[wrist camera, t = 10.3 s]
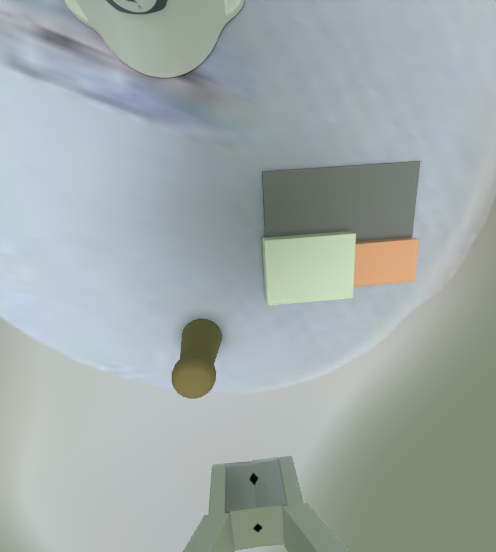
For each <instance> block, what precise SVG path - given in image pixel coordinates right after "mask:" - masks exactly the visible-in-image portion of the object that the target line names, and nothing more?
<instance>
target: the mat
mask: <svg viewBox="0 0 496 552" xmlns="http://www.w3.org/2000/svg"><path fill="white" fill-rule="evenodd" d="M419 168H420V161H415V162H400V163H385V164H370V165H355V166H340V167H325V168H310V169H295V170H280V171H265V172H262V179H263V199H264V219H265V237H266V238H267V237H279V236H292V235H305V234H318V233H331V232H343V231H349V232H352V233H356V241H368V240H380V239H392V238H403V237H412V233H413V223H414V214H415V205H416V195H417V186H418V177H419Z"/></svg>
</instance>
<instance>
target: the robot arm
mask: <svg viewBox="0 0 496 552" xmlns="http://www.w3.org/2000/svg"><path fill="white" fill-rule="evenodd" d="M65 3H66V5H67V6H68V8H69V9H70V11H71V12H72V14H73V15H74V16H75V17H76V18H78V19H79V20H80V21H82V22H83V23H85V24H86V25H88V26H89V27H91V28H93V29H94V30H95V31H96V32H97V33H98V34H99V35H100V36H101V37H102V39H103V40H104V41H105V43H106V44H107V45H108V47H109V48H110V49H111V50H112V52H113V53H114V54H115V55H116V56H117V57H118V58H119V59H120V60H122V61H123V62H124V63H125V64H127V65H128V66H130V67H131V68H133V69H134V70H136V71H138V72H140V73H143V74H146V75H149V76H153V77H160V78H169V77H176V76H180V75H183V74H185V73H188V72H190V71H191V70H193V69H195V68H196V67H197V66H199V65H200V64H201V63H202V62H203V61H204V60H205V59H206V58H207V57H208V55H209V54H210V53H211V51H212V49H213V48H214V46H215V44H216V42H217V40H218V38H219V35H220V33H221V31H222V29H223V27H224V26H225V24H226V23H228V22H229V21H230V20H231V19H232V18H233V17H234V16H235V15H236V14H237V13H238V12H239V11H240V10H241V8H242V7H243V4H244V0H65ZM282 544H284V545H285V548H286V549H287V551H288V552H350V551H349V550H348V549H347V548H346V547H345V546H344V544H343V543H342V542H341V541H340V540H339V539H338V538H337V536H336V535H335V534H334V533H333V532H332V531H331V529H330V528H329V527H328V526H327V525H326V524H325V523H324V521H323V520H322V519H321V518H320V517H319V516H318V514H317V513H316V512H315V511H314V510H313V509H312V508H311V506H310V505H309V504H308V503H303V500H302V495H301V492H300V488H299V483H298V479H297V475H296V471H295V467H294V462H293V459H292V457H291V456H287V457H279V458H278V457H275V458H269V459H260V460H253V461H249V462H236V463H225V464H215V465H213V466H212V472H211V487H210V500H209V515H204V517H203V519H202V520H201V522H200V524H199V525H198V527H197V529H196V531H195V532H194V534H193V536H192V537H191V539H190V541H189V542H188V544H187V546H186V547H185V549H184V551H183V552H234V551H236V550H242V549H248V548H254V547H259V546H272V545H282Z"/></svg>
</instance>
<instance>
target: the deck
mask: <svg viewBox="0 0 496 552" xmlns="http://www.w3.org/2000/svg"><path fill="white" fill-rule="evenodd" d="M355 242H356V233H352V232H349V231H343V232H331V233H318V234H305V235H292V236H279V237H267V238H266V237H262V250H263V269H264V288H265V299H266V302H267V305H279V304H291V303H302V302H313V301H324V300H335V299H347V298H353V285H354V263H355Z"/></svg>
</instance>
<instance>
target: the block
mask: <svg viewBox="0 0 496 552" xmlns="http://www.w3.org/2000/svg"><path fill="white" fill-rule="evenodd" d="M418 246H419V239H417V238H412V237H403V238H392V239H380V240H368V241H356V242H355V263H354V285H353V287H355V286H366V285H377V284H388V283H399V282H410V281H415V273H416V264H417V255H418Z"/></svg>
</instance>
